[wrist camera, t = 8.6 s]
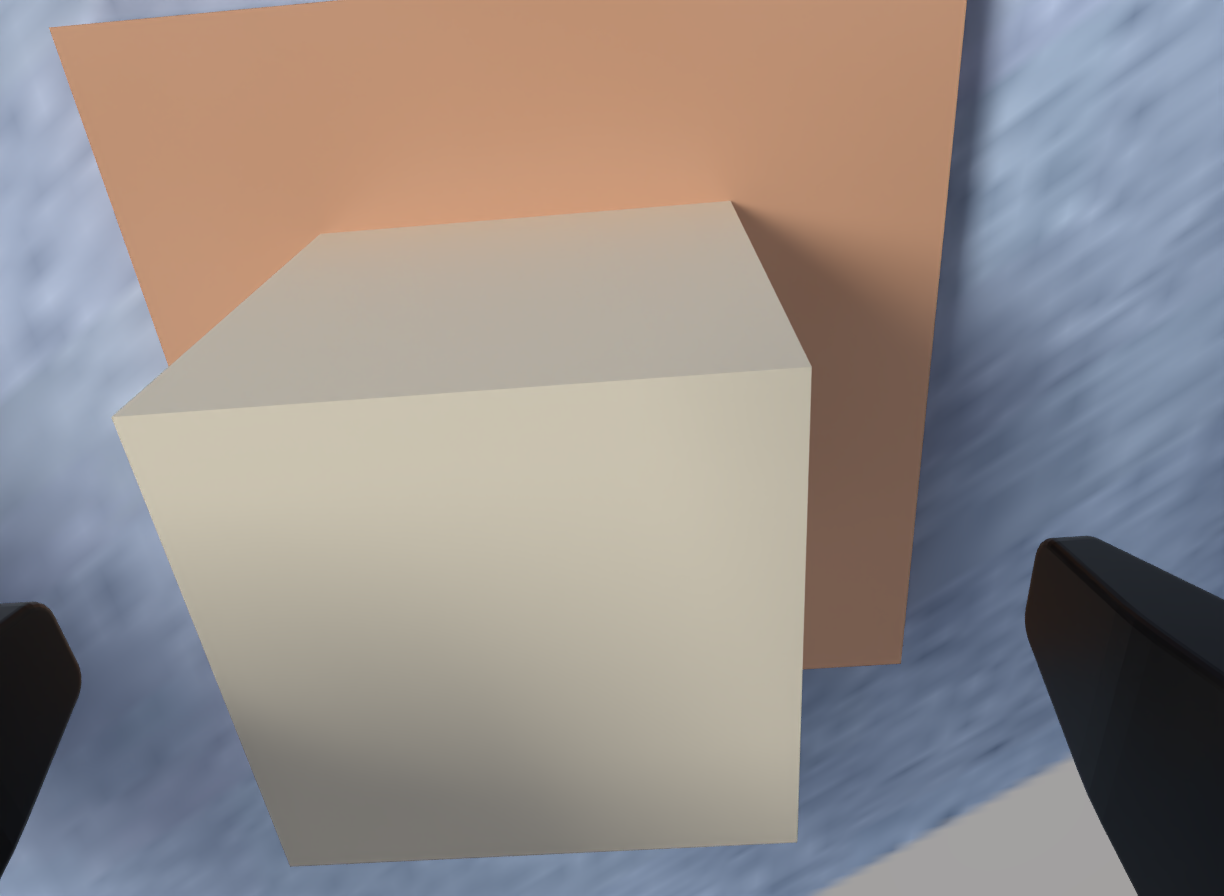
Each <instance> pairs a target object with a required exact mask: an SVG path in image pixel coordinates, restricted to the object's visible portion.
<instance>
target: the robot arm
mask: <svg viewBox="0 0 1224 896" xmlns="http://www.w3.org/2000/svg"><path fill="white" fill-rule="evenodd" d="M1025 626H1026V632H1027V637H1028V640H1029V643H1030V646H1031V648H1032V651H1033V653H1034V656H1035V659H1036V661H1037V664H1038V667H1039V669H1040V672H1041V675H1042V677H1043V680H1044V683H1045V685H1046V688H1047V691H1048V693H1049V696H1050V698H1051V701H1052V704H1053V706H1054V709H1055V712H1056V714H1057V717H1058V720H1059V722H1060V725H1061V728H1062V730H1063V733H1064V736H1065V738H1066V741H1067V744H1068V746H1069V749H1070V751H1071V754H1072V757H1073V759H1074V762H1075V765H1076V767H1077V770H1078V772H1079V775H1080V777H1081V780H1082V782H1083V784H1084V787H1085V789H1086V792H1087V794H1088V797H1089V799H1090V801H1091V803H1092V805H1093V807H1094V809H1095V811H1096V813H1097V815H1098V817H1099V820H1100V822H1101V824H1102V825H1103V828H1104V830H1105V832H1106V834H1107V835H1108V837H1109V839H1110V841H1111V843H1112V845H1113V847H1114V849H1115V851H1116V853H1117V855H1118V857H1119V859H1120V861H1121V863H1122V865H1123V867H1124V869H1125V871H1126V873H1127V875H1128V877H1129V879H1130V881H1131V883H1132V884H1133V886H1134V888H1135V890H1136V892H1137V894H1138V896H1224V600H1223V599H1221V598H1219V597H1217V596H1215V595H1213V594H1211V593H1209V592H1207V591H1205V590H1203V589H1201V588H1199V587H1197V586H1195V585H1193V584H1191V583H1188V582H1186V581H1184V580H1182V579H1180V578H1178V577H1176V576H1174V575H1172V574H1170V573H1168V572H1166V571H1164V570H1162V569H1160V568H1158V567H1156V566H1153V565H1151V564H1149V563H1147V562H1145V561H1143V560H1141V559H1139V558H1137V557H1135V556H1133V555H1131V554H1129V553H1127V552H1125V551H1123V550H1121V549H1118V548H1116V547H1114V546H1112V545H1110V544H1108V543H1106V542H1104V541H1102V540H1100V539H1098V538H1095V537H1091V536H1076V537H1061V538H1049V539H1046V540H1045V541H1044V542H1042V543H1041V544H1040V546H1039V548H1038V550H1037V553H1036V556H1035V561H1034V567H1033V572H1032V578H1031V583H1030V589H1029V594H1028V599H1027V605H1026V611H1025ZM80 688H81V672H80V668H79V665H78V663H77V661H76V659H75V657H74V655H73V653H72V651H71V649H70V647H69V645H68V642H67V640H66V638H65V636H64V634H63V632H62V630H61V628H60V626H59V624H58V622H57V620H56V618H55V616H54V614H53V613H52V611H51V610H50V609H49V608H48V607H46V606H45V605H44V604H42V603H38V602H18V603H3V604H0V879H1V877H2V875H3V873H4V871H5V869H6V867H7V865H8V863H9V861H10V859H11V857H12V855H13V853H14V850H15V848H16V846H17V844H18V842H19V839H20V837H21V835H22V832H23V830H24V828H25V826H26V823H27V821H28V818H29V816H30V814H31V811H32V809H33V806H34V804H35V801H36V799H37V797H38V794H39V792H40V789H41V787H42V784H43V782H44V779H45V777H46V775H47V772H48V770H49V767H50V765H51V762H52V760H53V758H54V755H55V753H56V750H57V748H58V745H59V743H60V740H61V738H62V736H63V733H64V731H65V728H66V726H67V723H68V721H69V718H70V716H71V714H72V711H73V709H74V706H75V704H76V701H77V699H78V696H79V693H80Z"/></svg>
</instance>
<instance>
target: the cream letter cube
mask: <svg viewBox="0 0 1224 896" xmlns="http://www.w3.org/2000/svg"><path fill="white" fill-rule="evenodd" d="M811 373H812V366H811V364H810V362H809V360H808V358H807V356H806V354H805V352H804V350H803V348H802V346H801V344H800V342H799V340H798V338H797V336H796V334H795V332H794V330H793V328H792V326H791V324H790V322H789V319H788V317H787V315H786V313H785V311H784V309H783V307H782V305H781V303H780V301H779V299H778V297H777V295H776V293H775V291H774V289H773V287H772V285H771V283H770V281H769V279H768V277H767V274H766V272H765V270H764V268H763V266H762V264H761V262H760V260H759V258H758V256H757V254H756V252H755V250H754V248H753V246H752V244H751V242H750V240H749V238H748V236H747V234H746V232H745V230H744V227H743V225H742V223H741V221H740V219H739V217H738V215H737V213H736V211H735V209H734V207H733V205H732V203H731V201H722V202H710V203H697V204H685V205H673V206H660V207H648V208H635V209H623V210H610V211H598V212H586V213H573V214H561V215H548V216H536V217H524V218H511V219H499V220H486V221H474V222H461V223H449V224H437V225H424V226H412V227H399V228H387V229H375V230H362V231H350V232H337V233H325V234H320V235H318V236H317V237H316V238H315V239H314V240H313V241H312V242H310V243H309V244H308V245H307V246H306V247H305V248H304V249H302V250H301V251H300V252H299V253H298V254H297V255H296V256H294V257H293V258H292V259H291V260H290V261H289V262H288V263H286V264H285V265H284V266H283V267H282V268H281V269H280V270H278V271H277V272H276V273H275V274H274V275H273V276H272V277H271V278H269V279H268V280H267V281H266V282H265V283H264V284H263V285H261V286H260V287H259V288H258V289H257V290H256V291H255V292H253V293H252V294H251V295H250V296H249V297H248V298H247V299H245V300H244V301H243V302H242V303H241V304H240V305H239V306H237V307H236V308H235V309H234V310H233V311H232V312H231V313H229V314H228V315H227V316H226V317H225V318H224V319H223V320H222V321H220V322H219V323H218V324H217V325H216V326H215V327H214V328H212V329H211V330H210V331H209V332H208V333H207V334H206V335H204V336H203V337H202V338H201V339H200V340H199V341H198V342H196V343H195V344H194V345H193V346H192V347H191V348H190V349H188V350H187V351H186V352H185V353H184V354H183V355H182V356H181V357H179V358H178V359H177V360H176V361H175V362H174V363H173V364H171V365H170V366H169V367H168V368H167V369H166V370H165V371H163V372H162V373H161V374H160V375H159V376H158V377H157V378H155V379H154V380H153V381H152V382H151V383H150V384H149V385H147V386H146V387H145V388H144V389H143V390H142V391H141V392H139V393H138V394H137V395H136V396H135V397H134V398H133V399H132V400H130V401H129V402H128V403H127V404H126V405H125V406H124V407H122V408H121V409H120V410H119V411H118V412H117V413H116V414H114V415H113V416H112V420H113V422H114V425H115V427H116V430H117V432H118V435H119V437H120V440H121V442H122V445H123V447H124V450H125V452H126V455H127V457H128V460H129V463H130V465H131V468H132V470H133V473H134V475H135V478H136V480H137V483H138V485H139V488H140V490H141V493H142V495H143V498H144V500H145V503H146V505H147V508H148V510H149V513H150V515H151V518H152V520H153V523H154V525H155V528H156V530H157V533H158V535H159V538H160V540H161V543H162V545H163V548H164V550H165V553H166V556H167V558H168V561H169V563H170V566H171V568H172V571H173V573H174V576H175V578H176V581H177V583H178V586H179V588H180V591H181V593H182V596H183V598H184V601H185V603H186V606H187V608H188V611H189V613H190V616H191V618H192V621H193V623H194V626H195V628H196V631H197V633H198V636H199V638H200V641H201V643H202V646H203V649H204V651H205V654H206V656H207V659H208V661H209V664H210V666H211V669H212V671H213V674H214V676H215V679H216V681H217V684H218V686H219V689H220V691H221V694H222V696H223V699H224V701H225V704H226V706H227V709H228V711H229V714H230V716H231V719H232V721H233V724H234V726H235V729H236V731H237V734H238V736H239V739H240V741H241V744H242V747H243V749H244V752H245V754H246V757H247V759H248V762H249V764H250V767H251V769H252V772H253V774H254V777H255V779H256V782H257V784H258V787H259V789H260V792H261V794H262V797H263V799H264V802H265V804H266V807H267V809H268V812H269V814H270V817H271V819H272V822H273V824H274V827H275V829H276V832H277V834H278V837H279V840H280V842H281V845H282V847H283V850H284V852H285V855H286V857H287V860H288V862H289V865H290V867H291V866H312V865H333V864H354V863H375V862H396V861H417V860H438V859H459V858H480V857H501V856H522V855H543V854H564V853H585V852H606V851H627V850H648V849H669V848H690V847H711V846H732V845H753V844H774V843H795V842H797V832H798V799H799V766H800V734H801V701H802V668H803V635H804V603H805V570H806V537H807V504H808V472H809V439H810V406H811Z"/></svg>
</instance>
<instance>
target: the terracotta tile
mask: <svg viewBox="0 0 1224 896" xmlns="http://www.w3.org/2000/svg"><path fill="white" fill-rule="evenodd" d="M966 4H967V0H336V1H326V2H315V3H304V4H294V5H283V6H273V7H262V8H251V9H241V10H230V11H219V12H209V13H198V14H188V15H177V16H166V17H156V18H145V19H135V20H124V21H113V22H103V23H92V24H82V25H71V26H61V27H51V28H49V29H50V32H51V35H52V37H53V40H54V43H55V46H56V49H57V52H58V54H59V57H60V60H61V63H62V66H63V69H64V71H65V74H66V77H67V80H68V83H69V86H70V88H71V91H72V94H73V97H74V100H75V103H76V105H77V108H78V111H79V114H80V117H81V120H82V122H83V125H84V128H85V131H86V134H87V136H88V139H89V142H90V145H91V148H92V151H93V153H94V156H95V159H96V162H97V165H98V168H99V170H100V173H101V176H102V179H103V182H104V185H105V187H106V190H107V193H108V196H109V199H110V202H111V204H112V207H113V210H114V213H115V216H116V219H117V221H118V224H119V227H120V230H121V233H122V236H123V238H124V241H125V244H126V247H127V250H128V253H129V255H130V258H131V261H132V264H133V267H134V270H135V272H136V275H137V278H138V281H139V284H140V287H141V289H142V292H143V295H144V298H145V301H146V303H147V306H148V309H149V312H150V315H151V318H152V320H153V323H154V326H155V329H156V332H157V335H158V337H159V340H160V343H161V346H162V349H163V352H164V354H165V357H166V360H167V363H168V366H170V365H171V364H173V363H174V362H175V361H176V360H177V359H178V358H179V357H181V356H182V355H183V354H184V353H185V352H186V351H187V350H188V349H190V348H191V347H192V346H193V345H194V344H195V343H196V342H198V341H199V340H200V339H201V338H202V337H203V336H204V335H206V334H207V333H208V332H209V331H210V330H211V329H212V328H214V327H215V326H216V325H217V324H218V323H219V322H220V321H222V320H223V319H224V318H225V317H226V316H227V315H228V314H229V313H231V312H232V311H233V310H234V309H235V308H236V307H237V306H239V305H240V304H241V303H242V302H243V301H244V300H245V299H247V298H248V297H249V296H250V295H251V294H252V293H253V292H255V291H256V290H257V289H258V288H259V287H260V286H261V285H263V284H264V283H265V282H266V281H267V280H268V279H269V278H271V277H272V276H273V275H274V274H275V273H276V272H277V271H278V270H280V269H281V268H282V267H283V266H284V265H285V264H286V263H288V262H289V261H290V260H291V259H292V258H293V257H294V256H296V255H297V254H298V253H299V252H300V251H301V250H302V249H304V248H305V247H306V246H307V245H308V244H309V243H310V242H312V241H313V240H314V239H315V238H316V237H317V236H318V235H320V234H325V233H337V232H350V231H362V230H375V229H387V228H399V227H412V226H424V225H437V224H449V223H461V222H474V221H486V220H499V219H511V218H524V217H536V216H548V215H561V214H573V213H586V212H598V211H610V210H623V209H635V208H648V207H660V206H673V205H685V204H697V203H710V202H722V201H731V203H732V205H733V207H734V209H735V211H736V213H737V215H738V217H739V219H740V221H741V223H742V225H743V227H744V230H745V232H746V234H747V236H748V238H749V240H750V242H751V244H752V246H753V248H754V250H755V252H756V254H757V256H758V258H759V260H760V262H761V264H762V266H763V268H764V270H765V272H766V274H767V277H768V279H769V281H770V283H771V285H772V287H773V289H774V291H775V293H776V295H777V297H778V299H779V301H780V303H781V305H782V307H783V309H784V311H785V313H786V315H787V317H788V319H789V322H790V324H791V326H792V328H793V330H794V332H795V334H796V336H797V338H798V340H799V342H800V344H801V346H802V348H803V350H804V352H805V354H806V356H807V358H808V360H809V362H810V364H811V366H812V373H811V406H810V439H809V472H808V504H807V537H806V570H805V603H804V635H803V668H802V669H817V668H834V667H852V666H869V665H886V664H901V656H902V646H903V636H904V626H905V616H906V606H907V596H908V586H909V576H910V566H911V556H912V546H913V536H914V526H915V516H916V506H917V496H918V486H919V476H920V466H921V456H922V446H923V436H924V426H925V416H926V405H927V395H928V385H929V375H930V365H931V355H932V345H933V335H934V325H935V315H936V305H937V295H938V285H939V275H940V265H941V255H942V245H943V235H944V225H945V215H946V205H947V195H948V185H949V175H950V165H951V155H952V145H953V134H954V124H955V114H956V104H957V94H958V84H959V74H960V64H961V54H962V44H963V34H964V24H965V14H966Z"/></svg>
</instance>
